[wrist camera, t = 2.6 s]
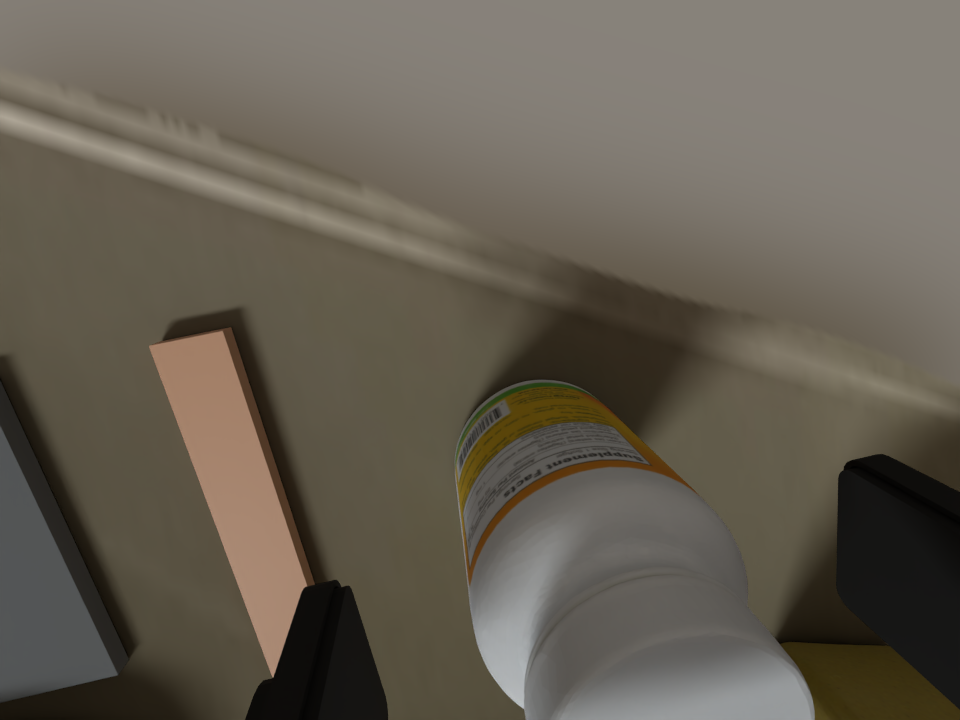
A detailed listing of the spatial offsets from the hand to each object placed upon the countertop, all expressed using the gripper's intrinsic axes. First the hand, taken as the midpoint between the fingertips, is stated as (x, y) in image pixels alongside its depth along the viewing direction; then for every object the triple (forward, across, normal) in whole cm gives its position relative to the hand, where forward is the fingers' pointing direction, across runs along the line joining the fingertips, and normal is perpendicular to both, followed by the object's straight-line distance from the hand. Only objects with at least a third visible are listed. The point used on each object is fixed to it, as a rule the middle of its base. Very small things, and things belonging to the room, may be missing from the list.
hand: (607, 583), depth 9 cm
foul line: (+7, +9, +1) cm, 11 cm away
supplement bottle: (+7, 0, +1) cm, 7 cm away
